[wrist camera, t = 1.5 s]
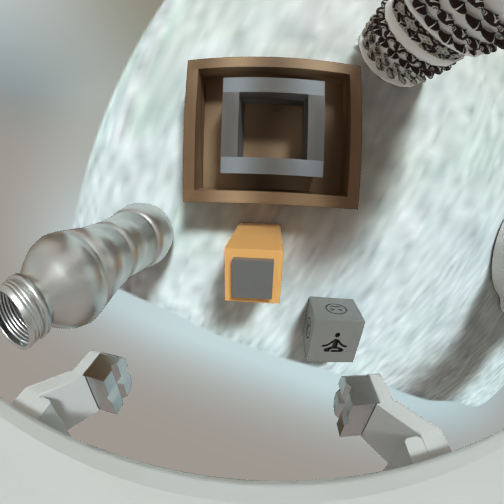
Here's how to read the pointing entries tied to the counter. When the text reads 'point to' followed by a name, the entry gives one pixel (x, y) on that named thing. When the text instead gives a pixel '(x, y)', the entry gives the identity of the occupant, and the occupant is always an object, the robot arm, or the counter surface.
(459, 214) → the counter surface
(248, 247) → the block
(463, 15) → the decorative candle
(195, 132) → the walled box
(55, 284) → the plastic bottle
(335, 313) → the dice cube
